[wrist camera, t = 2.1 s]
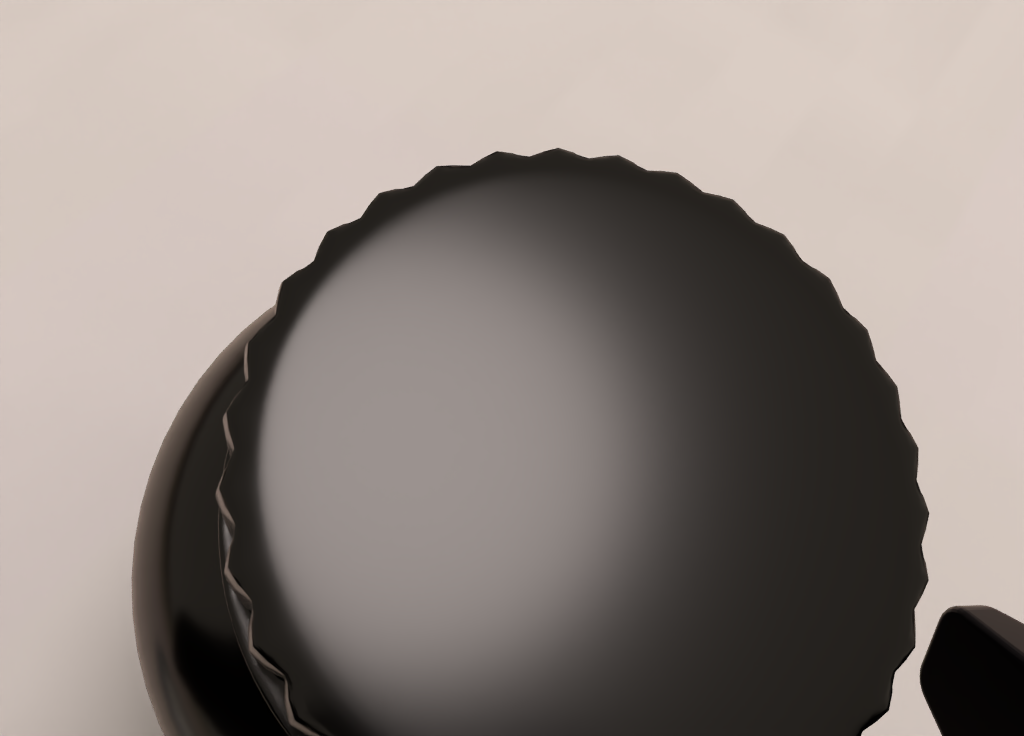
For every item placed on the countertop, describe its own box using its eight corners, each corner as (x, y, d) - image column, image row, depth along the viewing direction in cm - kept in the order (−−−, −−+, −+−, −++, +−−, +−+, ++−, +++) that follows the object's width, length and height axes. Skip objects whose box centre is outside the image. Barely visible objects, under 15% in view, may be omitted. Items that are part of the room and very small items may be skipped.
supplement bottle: (119, 691, 15) (-319, 632, 4) (348, 376, 18) (425, -138, 7) (466, 910, 15) (875, 1393, 4) (642, 562, 18) (1163, 329, 7)
